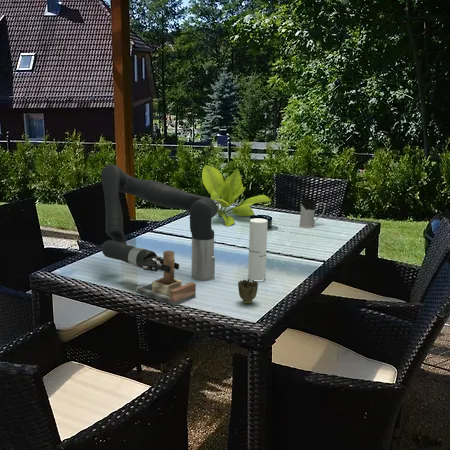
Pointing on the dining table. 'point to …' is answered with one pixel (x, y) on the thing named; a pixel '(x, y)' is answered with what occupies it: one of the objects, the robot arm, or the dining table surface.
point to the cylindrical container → (257, 249)
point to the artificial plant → (228, 193)
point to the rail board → (171, 293)
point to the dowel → (169, 261)
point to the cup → (247, 290)
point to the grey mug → (308, 213)
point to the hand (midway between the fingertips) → (174, 268)
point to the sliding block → (165, 286)
